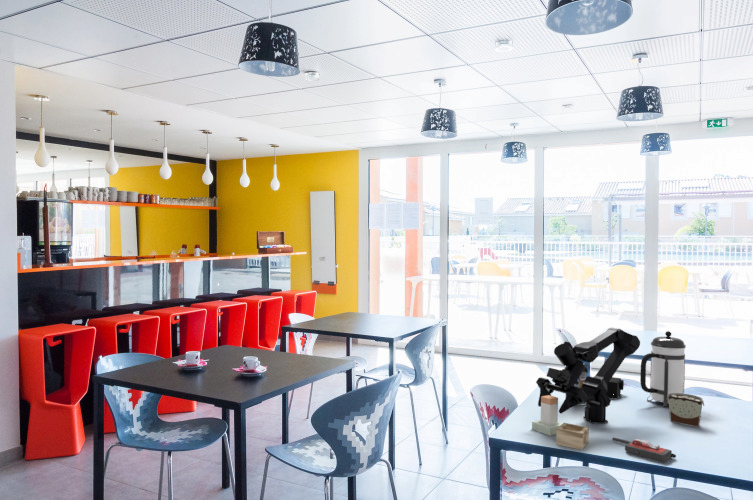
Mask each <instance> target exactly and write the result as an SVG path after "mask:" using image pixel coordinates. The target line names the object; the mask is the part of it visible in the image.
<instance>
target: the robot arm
mask: <svg viewBox="0 0 753 500" xmlns="http://www.w3.org/2000/svg"><path fill="white" fill-rule="evenodd" d="M610 345H613V350H611V353H609V356H608V357H607V358H606V360H605V361H604V362H603V364H602V366H600V369H598V371H597V373H596V374H595V375H594V376H590V375H588V376H587V377H586V379H585V381H584V382H583V383H582V384H583V385H582V386H581V388H579V387H576V386H574V385H575V384H576V385H578V383H579V382H578V381H577V380H578V379H579V377H580V375H581V374H582V372H586V373H587V374H588V372H589V369H588V367H587V366H588V365H587V364H586V363H593V362H594V361H595V360H596V359H597V358H598V357H599V354H600V352H602V351H603V350H605V349H607V347H609V346H610ZM640 346H641V340H640V339H639V337H638V335H633V334H631V333H629V332H626V331H625V330H623V329H621V328H618V327H617V328H616V327H609V328H607V329H606V331H604V332H603V333H601V334H599V335H598V336H596V337H594V338H593V339H591V340H590V341H584V342H580V343H577V344H575V345H574V346H572V344H571V342H570V341H564V342H563V343H561V344H558V345H557V346H556V347H555V348H554V350H553V353H554V355H555V357H556V358H557V359H558V361H559V362H560V363H561V365H563V366H564V367H563V369H556V368H554V367H548V371H547V373H546V377H547V378H546V377H541V376H540V377H538V378H537V380H536V381H535V383H536V385H537V387H538V388H539V397H538V402H537V407H540V408H541V396H546V395H551V396H552V394H553V393H554V391H555V392H558V393H562V394H565V398H566V399H564V401H563V402H562V404H561V406H560V407H559V408H558V414H563V413H565V412H566V411H568V410H570V409H571V408H574V407H576V406H579V405H580V406H582V405H581V403H583V404H585V402H586V404H585V407H584V416H583V419H584V420H586V421H588V422H590V423H591V424H596V423H597V424H599V423H601V424H602V423H609V420H607V417H606V415H607V413H606V412H607V408H608V407H609V406H610V405H611V401H612V400H611V398H609V397H608V395H607V384H608V382H609V381H610V379H611V378H612V377H614V375H615V373H616V372H617V371H618V369H619V368H620V366H621V364H622V363H623V362H624V361H625V360H626V358H627V357H629V356H631V355H633V354H634V353H636V351H637V350H638V349H639V347H640ZM582 361H585V364H583V362H582ZM548 378H550V379H552V380H550V379H548ZM551 381H552V382H551Z"/></svg>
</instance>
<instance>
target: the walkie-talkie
mask: <svg viewBox="0 0 753 500" xmlns="http://www.w3.org/2000/svg"><path fill="white" fill-rule="evenodd" d="M612 441H613V442H614V441H615V442H617V443H622V444H625V446H624V450H625V451H626V452H625V453H626V454H628V455H631V456H635V457H638V458H642V459H646V460H650V461H653V460H654V462H657V461H658V462H657V463H660V462H661V463H662V464H667V462H669V461H671V460H672V458H673V459H676V457H677V455H676V454H675V453H673V452H672V450H670V449H668V448H664V447H660V445H659V444H656V445H654V444H652V442H650V441H648V440H645V439H641V438H640V439H639V438H636V439H634V440H632V441H629V440H625V439H622V438H617V437H612ZM661 463H660V464H661Z"/></svg>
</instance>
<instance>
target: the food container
mask: <svg viewBox="0 0 753 500" xmlns="http://www.w3.org/2000/svg"><path fill="white" fill-rule="evenodd" d="M667 399H668V400H669V403H668V408H669V409H668V411H669V418H670V419H669V421H670V423H675V424H680V425H684V426H685V425H687V426H689V427H690V426H691V427H694V428H699V427H700V423H701V417H702V416H701V415H702V408H703V407H704V406H705V403H704V400H703V398H702V397H700V396H697V395H693V394H689V393H684V394H683V393H670V394H668V396H667Z"/></svg>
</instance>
